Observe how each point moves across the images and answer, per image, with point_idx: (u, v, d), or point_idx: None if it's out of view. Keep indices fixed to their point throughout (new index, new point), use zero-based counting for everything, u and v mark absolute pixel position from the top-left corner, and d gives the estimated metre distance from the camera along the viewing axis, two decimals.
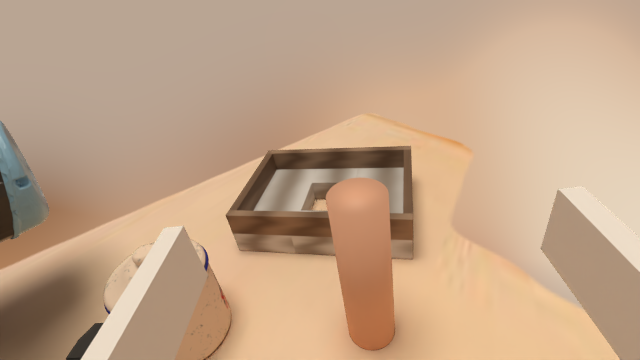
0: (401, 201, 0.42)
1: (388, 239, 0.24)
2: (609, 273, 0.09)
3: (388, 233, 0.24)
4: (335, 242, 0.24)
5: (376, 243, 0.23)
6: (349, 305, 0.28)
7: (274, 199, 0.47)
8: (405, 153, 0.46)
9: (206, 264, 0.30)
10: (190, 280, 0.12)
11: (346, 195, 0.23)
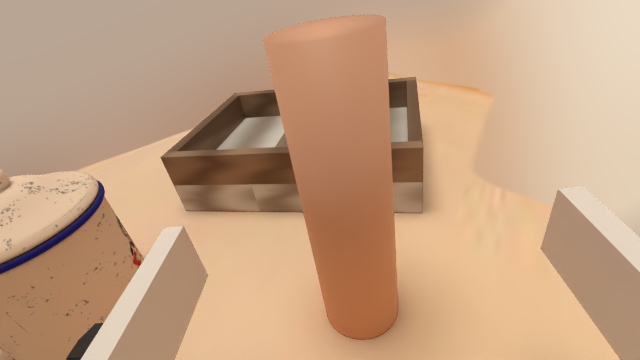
0: (404, 140, 0.31)
1: (386, 122, 0.13)
2: (609, 273, 0.09)
3: (385, 108, 0.12)
4: (287, 132, 0.13)
5: (361, 120, 0.12)
6: (322, 261, 0.16)
7: (236, 146, 0.36)
8: (409, 83, 0.35)
9: (95, 203, 0.19)
10: (190, 280, 0.12)
11: (302, 30, 0.12)
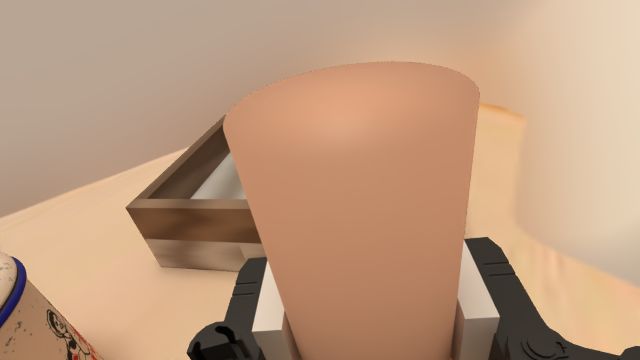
0: None
1: (459, 267, 0.07)
2: None
3: (462, 246, 0.07)
4: (274, 276, 0.07)
5: (422, 288, 0.06)
6: None
7: (224, 183, 0.30)
8: None
9: (2, 314, 0.13)
10: None
11: (303, 101, 0.06)
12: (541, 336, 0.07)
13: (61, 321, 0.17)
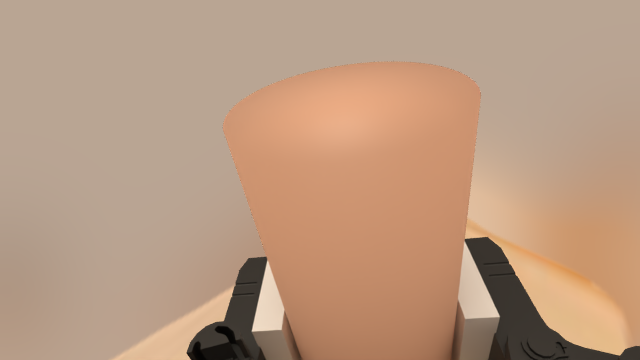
0: None
1: (460, 267, 0.07)
2: None
3: (463, 246, 0.07)
4: (274, 277, 0.07)
5: (423, 288, 0.06)
6: None
7: None
8: None
9: None
10: None
11: (304, 100, 0.06)
12: (541, 336, 0.07)
13: None
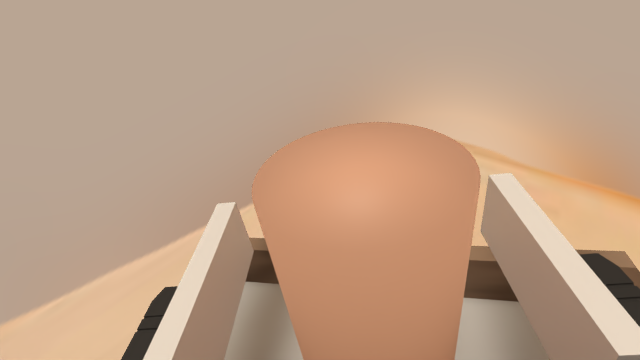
0: None
1: (460, 314, 0.08)
2: (521, 247, 0.10)
3: (462, 297, 0.07)
4: (292, 320, 0.08)
5: (428, 340, 0.07)
6: None
7: None
8: None
9: None
10: (242, 253, 0.13)
11: (322, 169, 0.07)
12: None
13: None
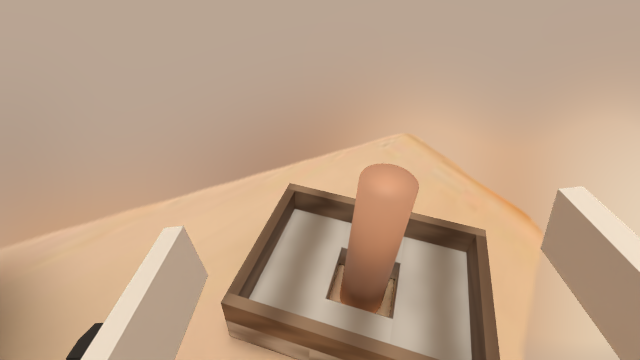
0: (466, 319, 0.30)
1: (405, 226, 0.26)
2: (609, 273, 0.09)
3: (407, 221, 0.26)
4: (357, 219, 0.26)
5: (395, 229, 0.25)
6: (351, 275, 0.30)
7: (289, 265, 0.34)
8: (479, 243, 0.34)
9: None
10: (190, 280, 0.12)
11: (378, 179, 0.25)
12: None
13: None
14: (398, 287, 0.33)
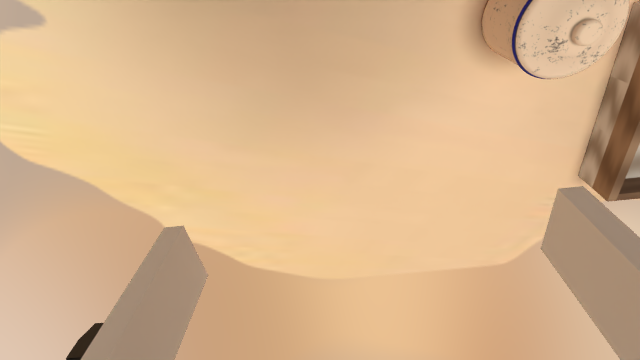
0: None
1: None
2: (609, 273, 0.09)
3: None
4: None
5: None
6: None
7: None
8: None
9: None
10: (190, 280, 0.12)
11: None
12: None
13: None
14: None
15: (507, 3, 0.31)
